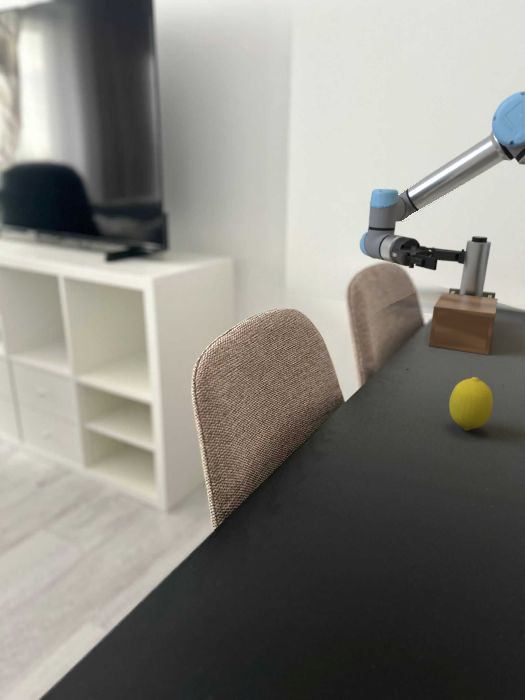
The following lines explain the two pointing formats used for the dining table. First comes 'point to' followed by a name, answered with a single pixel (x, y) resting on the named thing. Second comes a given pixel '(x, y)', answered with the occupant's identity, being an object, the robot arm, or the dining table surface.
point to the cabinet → (463, 323)
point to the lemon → (471, 403)
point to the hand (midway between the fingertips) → (458, 263)
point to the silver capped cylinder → (475, 266)
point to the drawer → (485, 294)
